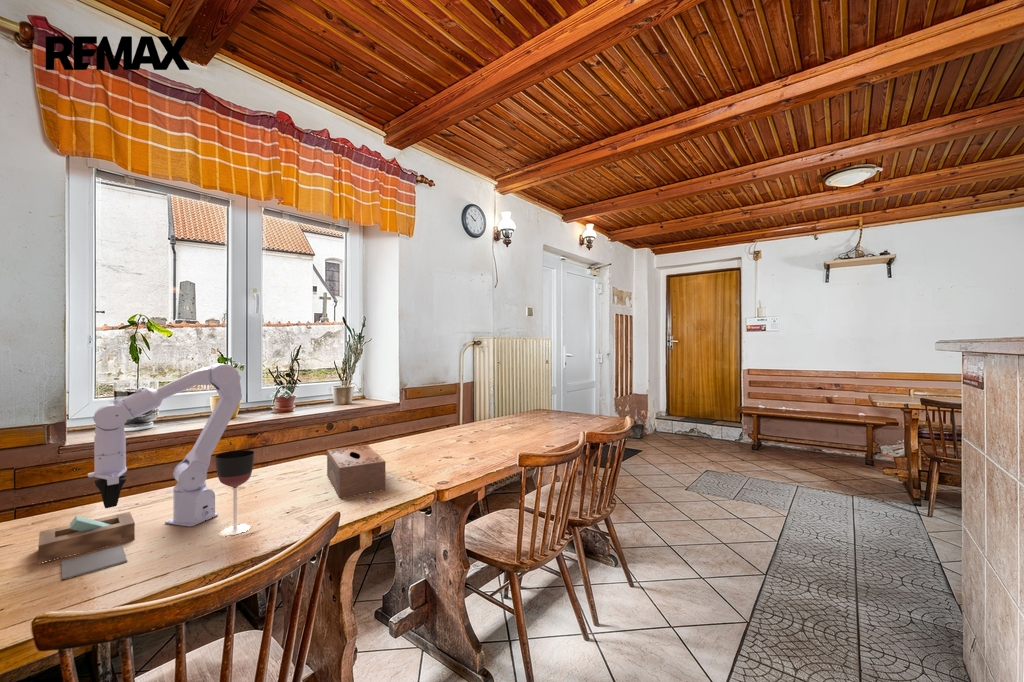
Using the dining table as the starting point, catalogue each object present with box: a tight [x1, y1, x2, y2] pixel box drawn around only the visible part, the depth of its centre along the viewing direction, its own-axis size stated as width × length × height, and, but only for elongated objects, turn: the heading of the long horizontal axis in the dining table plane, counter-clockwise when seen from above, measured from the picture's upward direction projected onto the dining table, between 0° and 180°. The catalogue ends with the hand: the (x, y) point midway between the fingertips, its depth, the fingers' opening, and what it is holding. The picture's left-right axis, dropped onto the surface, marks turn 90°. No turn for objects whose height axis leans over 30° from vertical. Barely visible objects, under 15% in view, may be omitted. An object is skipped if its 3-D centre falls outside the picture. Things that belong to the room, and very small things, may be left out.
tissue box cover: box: [326, 444, 386, 499], centre depth 147 cm, size 26×14×10 cm, turn 32°
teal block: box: [69, 515, 112, 532], centre depth 103 cm, size 9×4×2 cm
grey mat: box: [61, 545, 128, 580], centre depth 94 cm, size 10×10×1 cm
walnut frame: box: [37, 511, 136, 565], centre depth 103 cm, size 16×10×4 cm, turn 137°
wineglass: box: [214, 449, 255, 535], centre depth 111 cm, size 8×9×20 cm
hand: (110, 506), depth 105 cm, fingers closed
